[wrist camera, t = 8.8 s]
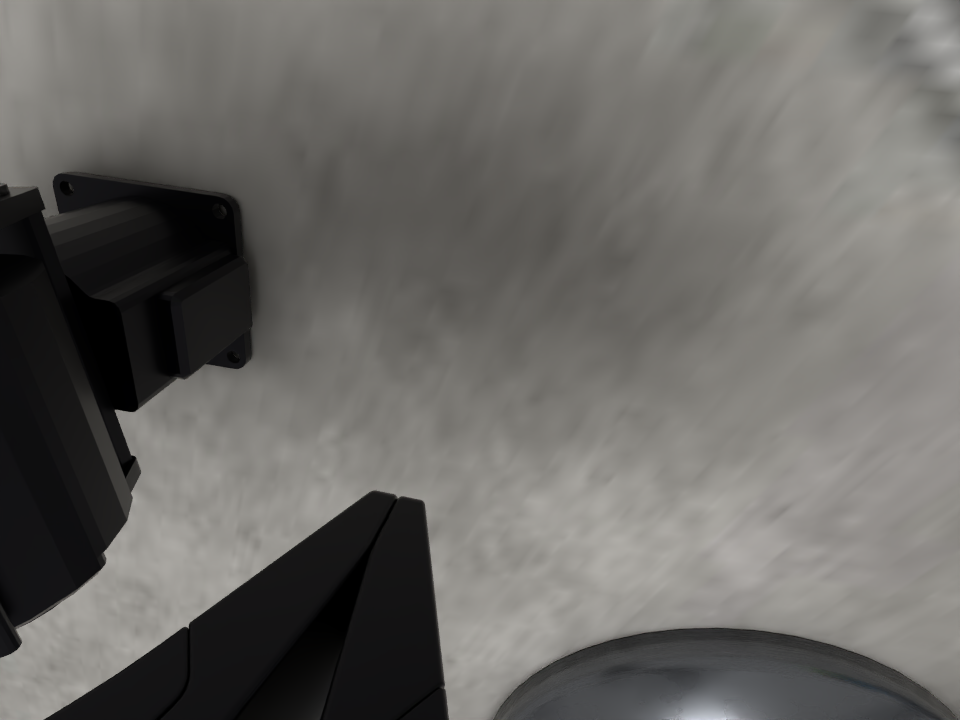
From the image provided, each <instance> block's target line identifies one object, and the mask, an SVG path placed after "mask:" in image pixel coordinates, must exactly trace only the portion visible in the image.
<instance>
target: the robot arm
mask: <svg viewBox="0 0 960 720" xmlns="http://www.w3.org/2000/svg"><path fill="white" fill-rule="evenodd" d="M69 183H70V184H71V185H72V187H73V189H74V193H73V192H72V191H71V190H70V187H69ZM53 188H54V193H55V197H56V202H57V206H58V211H59V214H58V215H55V216H51V217H48V218H45V219H44V217H43V214H42V212H41V211H42V210H44V209H45V206H44V203H43V201H42V198H41V195H40V192H39V190H38V187H8V186H7V184H5V183H0V658H1V657H4V656H7V655H9V654H11V653H13V652H14V651H16V650H17V649H18V648H19V647H20V645H21V643H22V640H21V638H20V636H19V634H18V633H17V631H16V629H17V628H19V627H21V626H23V625H25V624H28V623H30V622H32V621H33V620H35V619H37V618H38V617H40V616H41V615H43V614H45V613H46V612H48V611H50V610H51V609H53V608H54V607H55V606H57V605H58V604H59V603H60V602H62V601H63V600H65V599H66V598H68V597H70V596H71V595H73V594H74V593H75V592H77V591H78V590H79V589H80V588H81V587H83V586H84V585H85V584H86V583H87V582H88V581H90V580H91V579H92V578H93V577H94V576H95V575H97V574H98V572H99V571H100V570H101V569H102V568H103V566H104V565H105V564H106V557H105V555H104V553H103V552H104V551H105V550H106V549H107V548H108V546H109V545H110V544H111V542H112V541H113V540H114V538H115V537H116V535H117V534H118V533H119V531H120V530H121V528H122V527H123V526H124V524H125V523H126V522H127V519H128V515H129V511H130V507H131V503H132V499H133V497H132V495H131V492H132V490H133V488H134V486H135V484H136V482H137V480H138V478H139V476H140V474H141V470H140V467H139V464H138V462H137V459H136V457H135V456H132V455H131V454H130V451H129V448H128V446H127V443H126V440H125V438H124V435H123V432H122V429H121V427H120V424H119V421H118V418H117V416H116V413H115V410H122V411H128V412H135V411H136V410H138V409H139V408H140V407H141V406H143V405H144V404H145V403H147V402H148V401H149V400H150V399H152V398H153V397H154V396H155V395H157V394H158V393H159V392H161V391H162V390H163V389H164V388H166V387H167V386H168V385H170V384H171V383H172V382H173V381H175V380H176V379H177V378H178V379H184V380H185V379H187V378H189V377H190V376H191V375H192V374H194V373H195V372H196V371H197V370H199V369H200V368H201V367H202V366H204V365H205V364H210V365H215V366H221V367H227V368H233V369H240V368H242V367H244V366H245V365H246V364H247V363H248V362H249V361H250V359H251V345H250V333H249V328H251V327H252V313H251V300H250V287H249V274H248V264H247V262H246V260H245V259H244V258H243V246H242V233H241V221H240V210H239V206H238V204H237V203H236V201H235V200H234V199H233V198H232V197H231V196H229V195H226V194H221V193H215V192H208V191H201V190H194V189H187V188H181V187H174V186H167V185H160V184H153V183H147V182H140V181H133V180H126V179H119V178H112V177H106V176H99V175H92V174H85V173H78V172H65V173H61V174H58V175H56V176H55V177H54V180H53ZM219 204H221V205H223V206H224V207H225V209H226V212H227V214H226V216H224V215H222V214H221V212H220V211H219V208H218V207H219ZM232 351H234V352H236V353H237V354H238V355H239V357H240V359H239V358H237V357H235V356H234V355H233V352H232ZM444 686H445V682H444V673H443V664H442V655H441V646H440V637H439V628H438V619H437V610H436V601H435V591H434V582H433V573H432V564H431V555H430V546H429V537H428V528H427V519H426V510H425V503H424V502H423V501H422V500H418V499H414V498H409V497H404V496H401V497H399V498H397V496H396V495H394V494H390V493H385V492H380V491H371V492H369V493H368V494H366V495H365V496H364V497H362V498H361V499H360V500H358V501H357V502H355V503H354V504H353V505H351V506H350V507H349V508H347V509H346V510H344V511H343V512H342V513H340V514H339V515H338V516H336V517H335V518H333V519H332V520H331V521H329V522H328V523H327V524H325V525H324V526H322V527H321V528H320V529H318V530H317V531H316V532H314V533H313V534H311V535H310V536H309V537H307V538H306V539H305V540H303V541H302V542H300V543H299V544H298V545H296V546H295V547H294V548H292V549H291V550H289V551H288V552H287V553H285V554H284V555H283V556H281V557H280V558H278V559H277V560H276V561H274V562H273V563H272V564H270V565H269V566H267V567H266V568H265V569H263V570H262V571H261V572H259V573H258V574H256V575H255V576H254V577H252V578H251V579H250V580H248V581H247V582H245V583H244V584H243V585H241V586H240V587H239V588H237V589H236V590H234V591H233V592H232V593H230V594H229V595H228V596H226V597H225V598H223V599H222V600H221V601H219V602H218V603H217V604H215V605H214V606H212V607H211V608H210V609H208V610H207V611H205V612H204V613H203V614H201V615H200V616H199V617H197V618H196V619H194V620H193V621H192V622H190V624H189V629H188V628H187V627H183V628H182V629H180V630H179V631H178V632H176V633H175V634H173V635H172V636H171V637H169V638H168V639H167V640H165V641H164V642H162V643H161V644H160V645H158V646H157V647H155V648H154V649H153V650H151V651H150V652H148V653H147V654H145V655H144V656H142V657H141V658H140V659H138V660H137V661H135V662H134V663H132V664H131V665H129V666H128V667H127V668H125V669H124V670H122V671H121V672H119V673H118V674H116V675H115V676H113V677H112V678H110V679H108V680H107V681H105V682H104V683H102V684H101V685H99V686H97V687H96V688H94V689H93V690H91V691H89V692H88V693H86V694H85V695H83V696H82V697H80V698H78V699H77V700H75V701H74V702H72V703H71V704H69V705H67V706H66V707H64V708H62V709H61V710H59V711H57V712H56V713H54V714H52V715H51V716H49V717H48V718H46V719H44V720H449V717H448V708H447V698H446V691H445V689H444Z"/></svg>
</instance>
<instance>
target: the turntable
mask: <svg viewBox="0 0 960 720" xmlns="http://www.w3.org/2000/svg"><path fill="white" fill-rule="evenodd" d="M494 720H958V719H957V718H956V717H955V716H954V715H953V713H952V712H951V711H950V710H949V709H948V708H947V707H946V706H945V705H944V704H942V703H941V702H940V701H939V700H938V699H936V698H935V697H934V696H933V695H932V694H930V693H929V692H928V691H927V690H926V689H924V688H922V687H921V686H919V685H918V684H916V683H914V682H913V681H911V680H910V679H908V678H907V677H905V676H903V675H902V674H900V673H898V672H896V671H894V670H892V669H890V668H888V667H886V666H884V665H881V664H879V663H877V662H875V661H873V660H871V659H869V658H866V657H863V656H861V655H858V654H855V653H852V652H849V651H846V650H843V649H840V648H838V647H835V646H831V645H827V644H823V643H819V642H815V641H811V640H807V639H803V638H799V637H794V636H787V635H780V634H774V633H767V632H760V631H749V630H733V629H684V630H673V631H664V632H655V633H647V634H641V635H636V636H632V637H627V638H622V639H617V640H613V641H609V642H606V643H603V644H600V645H596V646H593V647H590V648H587V649H584V650H581V651H579V652H576V653H574V654H572V655H570V656H568V657H565V658H563V659H561V660H559V661H556V662H554V663H553V664H551V665H549V666H548V667H546V668H545V669H543V670H541V671H540V672H538V673H536V674H535V675H533V676H532V677H531V678H529V679H528V680H527V681H526V682H525V683H523V684H522V685H521V686H520V687H519V688H517V689H516V690H515V691H514V692H513V693H512V694H511V696H510V697H509V698H508V699H507V700H506V702H505V703H504V704H503V705H502V706H501V708H500V709H499V711H498V713H497V715H496V716H495V718H494Z"/></svg>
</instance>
